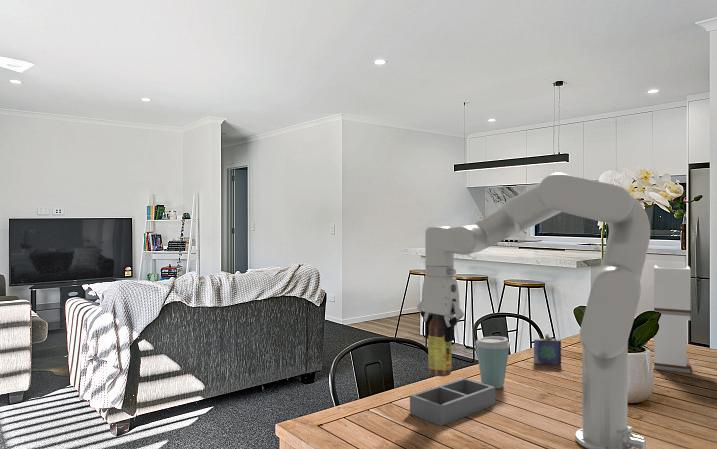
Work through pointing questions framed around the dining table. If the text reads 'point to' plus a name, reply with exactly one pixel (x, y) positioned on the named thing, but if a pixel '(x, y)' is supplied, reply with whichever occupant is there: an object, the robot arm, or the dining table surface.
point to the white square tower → (672, 317)
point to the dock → (452, 401)
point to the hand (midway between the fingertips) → (439, 338)
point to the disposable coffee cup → (493, 359)
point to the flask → (547, 351)
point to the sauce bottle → (439, 348)
